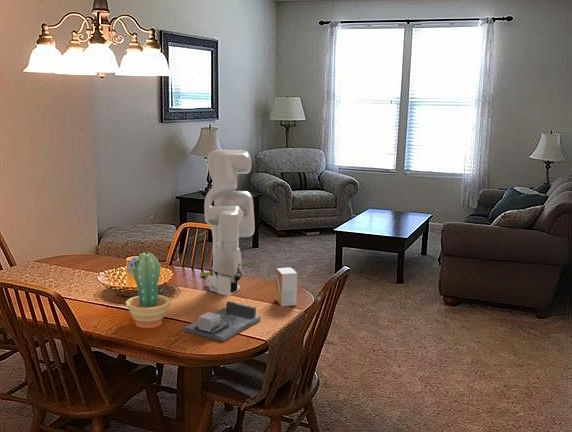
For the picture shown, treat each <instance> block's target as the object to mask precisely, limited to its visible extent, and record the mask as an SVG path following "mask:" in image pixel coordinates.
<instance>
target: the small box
mask: <svg viewBox="0 0 572 432" xmlns="http://www.w3.org/2000/svg"><path fill="white" fill-rule="evenodd" d="M275 269H276V271H275V273H276V274H275V276H276V277H275V301H277V303H278V304H279V305H280V307H290V306H292V307H293V306H297V298H298V297H297V294H298V292H297V291H298V272H296V270H295V269H293V268H292V267H279V268H278V267H276V268H275Z"/></svg>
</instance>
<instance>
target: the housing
mask: <svg viewBox="0 0 572 432" xmlns="http://www.w3.org/2000/svg"><path fill="white" fill-rule="evenodd" d="M238 282H239V281H237V289H238V285H239V284H238ZM231 283H232V278H231V276H229V275H225V274H220V275H218V287H217V293H216V294H218V295H222V296H227V297H229V296H231V295H233V294H235V293H236V292H238V291H235V292H233V293H231Z"/></svg>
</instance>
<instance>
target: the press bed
mask: <svg viewBox="0 0 572 432" xmlns="http://www.w3.org/2000/svg"><path fill="white" fill-rule="evenodd" d="M225 303H226V305H225V306H226V307H223V308H221V309H219V310H217V311H215V312H213V313H215V314H219V315H220V316H221V320H220V327H218V328H217V329H215V330H213V331H211V332H207V331H204V330H200V329H198V327H199V319H198V320H196V321H194V322H192V323H190V324H188V325H186V326H184V332H186V333H189V334H193V335H195V336H196V335H197V336H201V337H205V338H208V339H212V340H215V341H220V342H225V341H227V340H229V339H231V338H232V337H234V336H236V335H238V334H240V333H241V332H244V331H245V330H246V329H248V328H250V327H252V326H253V325H255V324H257V323H258V322H260V321H261V316H259V315H257V307H256V306H251V305H247V304H242V303H238V302H233V301H230V300H229V301H226V302H225Z"/></svg>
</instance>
